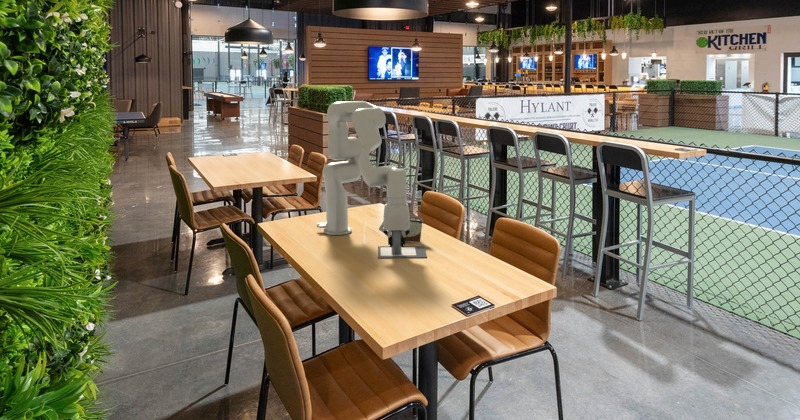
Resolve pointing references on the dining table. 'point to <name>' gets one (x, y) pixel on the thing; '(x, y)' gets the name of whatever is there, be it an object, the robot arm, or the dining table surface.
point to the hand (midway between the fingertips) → (396, 245)
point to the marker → (396, 242)
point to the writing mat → (406, 252)
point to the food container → (415, 229)
